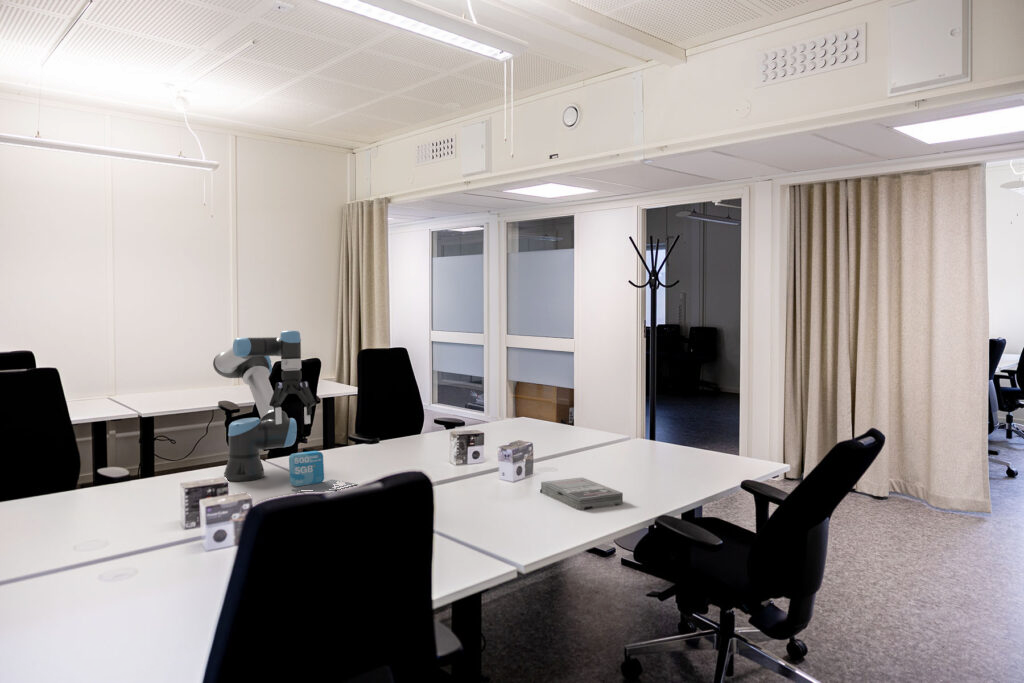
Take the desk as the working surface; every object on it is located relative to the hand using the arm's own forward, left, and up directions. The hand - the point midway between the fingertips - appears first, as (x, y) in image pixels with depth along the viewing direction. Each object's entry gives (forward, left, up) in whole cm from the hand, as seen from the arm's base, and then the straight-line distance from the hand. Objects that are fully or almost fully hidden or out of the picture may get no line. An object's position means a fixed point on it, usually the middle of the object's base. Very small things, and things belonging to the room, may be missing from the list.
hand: (293, 424), depth 270 cm
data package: (+9, -1, -23) cm, 24 cm away
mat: (+19, -1, -23) cm, 30 cm away
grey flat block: (+106, +40, -23) cm, 116 cm away
